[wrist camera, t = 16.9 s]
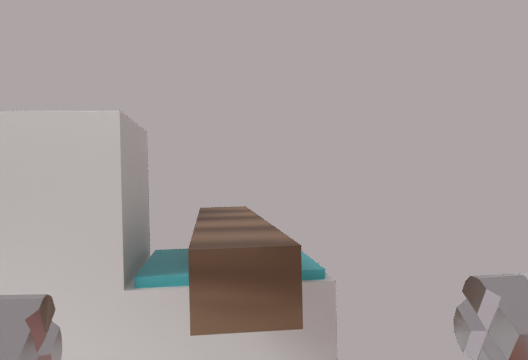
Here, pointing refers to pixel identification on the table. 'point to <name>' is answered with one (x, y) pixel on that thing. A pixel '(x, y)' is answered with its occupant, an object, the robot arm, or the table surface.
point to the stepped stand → (117, 248)
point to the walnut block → (242, 274)
